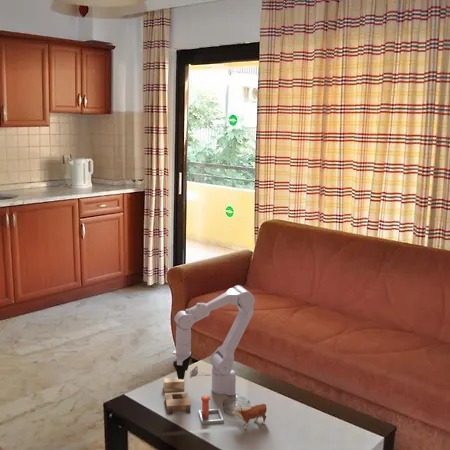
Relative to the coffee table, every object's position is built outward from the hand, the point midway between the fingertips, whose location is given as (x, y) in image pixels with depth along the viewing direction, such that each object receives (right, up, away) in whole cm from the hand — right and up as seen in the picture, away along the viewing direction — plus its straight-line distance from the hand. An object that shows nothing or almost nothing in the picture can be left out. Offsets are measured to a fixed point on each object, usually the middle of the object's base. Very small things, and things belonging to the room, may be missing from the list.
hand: (182, 374), depth 218 cm
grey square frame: (+11, -13, -13) cm, 22 cm away
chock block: (-4, -9, +8) cm, 12 cm away
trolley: (-2, -11, -4) cm, 12 cm away
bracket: (+7, -7, +20) cm, 23 cm away
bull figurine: (+26, -14, -16) cm, 33 cm away
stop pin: (+9, -12, -13) cm, 20 cm away
